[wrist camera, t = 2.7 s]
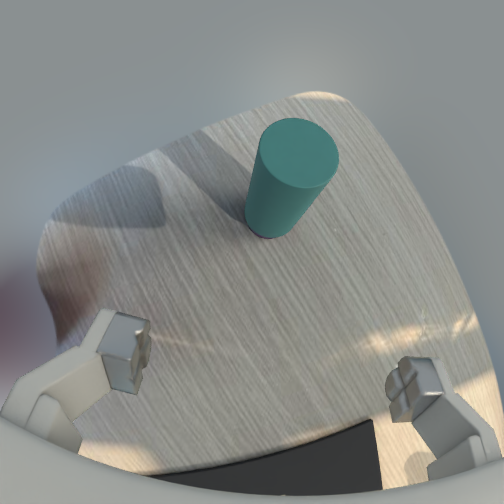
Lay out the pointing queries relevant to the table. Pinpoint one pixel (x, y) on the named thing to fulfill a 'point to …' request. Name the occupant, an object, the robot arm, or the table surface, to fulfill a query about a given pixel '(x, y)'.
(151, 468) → the table surface
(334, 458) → the desk mat
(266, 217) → the cylinder
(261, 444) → the table surface
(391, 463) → the table surface
